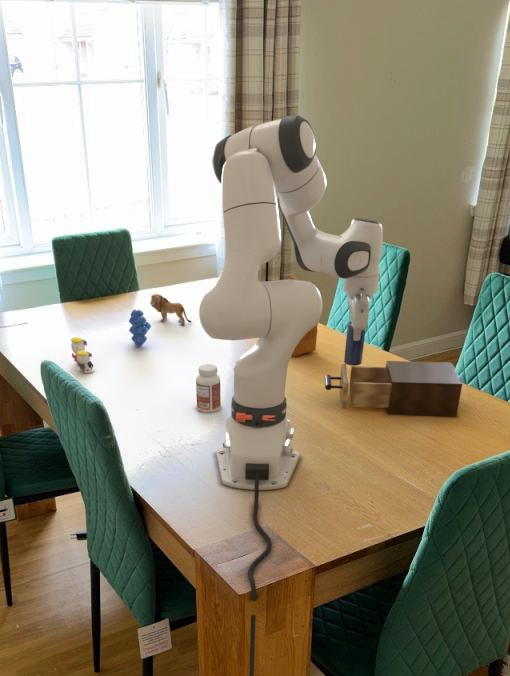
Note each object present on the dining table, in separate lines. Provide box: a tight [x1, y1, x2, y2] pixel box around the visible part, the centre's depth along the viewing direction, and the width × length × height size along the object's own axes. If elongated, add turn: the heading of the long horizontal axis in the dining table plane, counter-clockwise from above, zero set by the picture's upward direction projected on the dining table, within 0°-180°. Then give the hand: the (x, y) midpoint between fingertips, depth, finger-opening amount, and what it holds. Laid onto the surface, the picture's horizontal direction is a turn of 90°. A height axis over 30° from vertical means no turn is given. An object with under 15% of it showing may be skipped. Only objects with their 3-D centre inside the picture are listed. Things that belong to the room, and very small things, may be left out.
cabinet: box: [385, 360, 463, 418], centre depth 190 cm, size 17×15×9 cm
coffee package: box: [288, 273, 319, 357], centre depth 222 cm, size 10×12×22 cm
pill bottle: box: [195, 363, 222, 413], centre depth 189 cm, size 6×6×11 cm
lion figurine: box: [150, 293, 192, 326], centre depth 251 cm, size 15×5×9 cm, turn 70°
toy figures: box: [70, 336, 94, 374], centre depth 215 cm, size 12×4×8 cm, turn 23°
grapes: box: [128, 308, 152, 348], centre depth 230 cm, size 12×7×12 cm, turn 24°
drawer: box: [324, 363, 391, 410], centre depth 191 cm, size 20×14×7 cm
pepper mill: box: [343, 320, 366, 366], centre depth 201 cm, size 5×5×12 cm
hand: (355, 335), depth 200 cm, fingers closed on pepper mill, 5 cm apart
